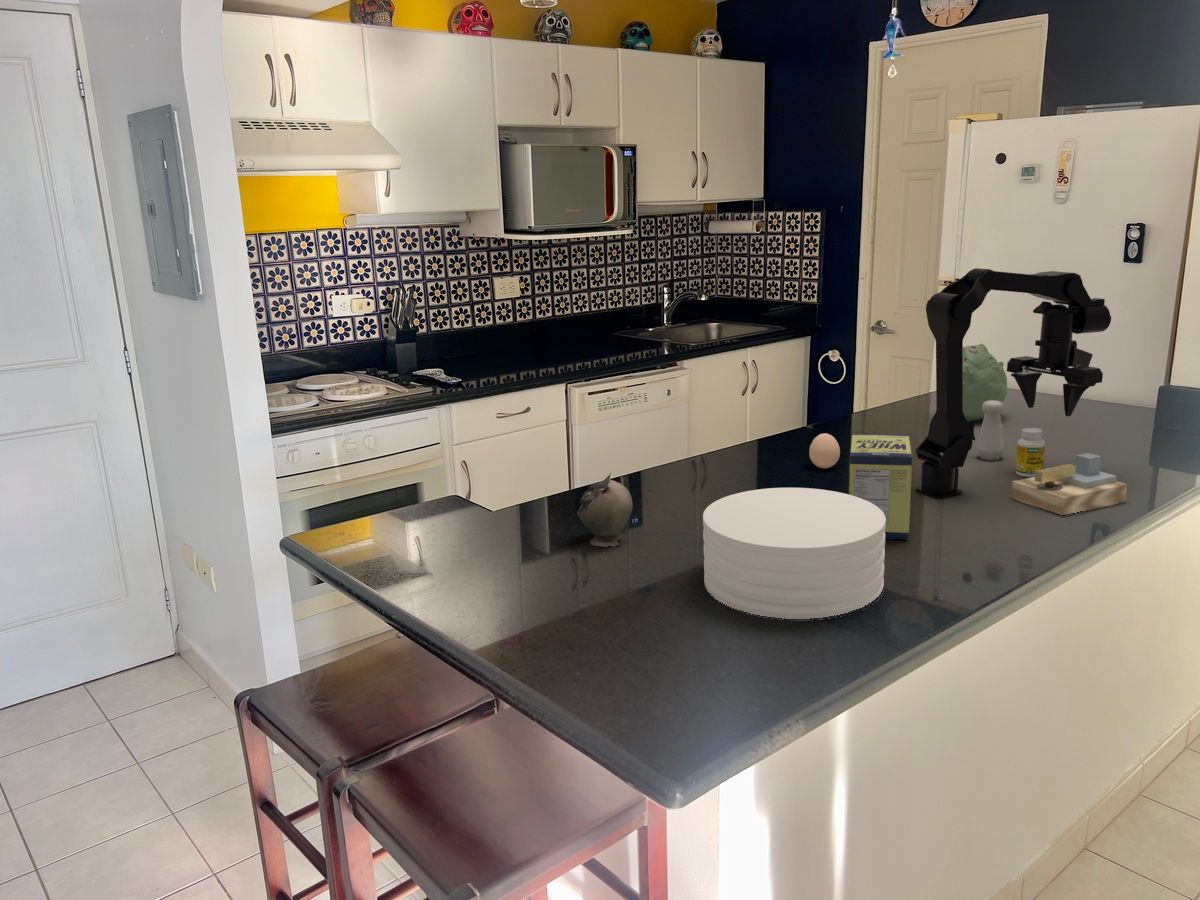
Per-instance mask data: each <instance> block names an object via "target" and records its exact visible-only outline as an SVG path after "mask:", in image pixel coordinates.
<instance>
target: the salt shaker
mask: <svg viewBox="0 0 1200 900" xmlns="http://www.w3.org/2000/svg"><path fill="white" fill-rule="evenodd" d="M982 410H983V412H985V415H984V418H983V419H982V424H981V428H980V433H979V436H978V439H977V444H976V451H977V454H978V456H979V457H980V459H981V460H983V459H984V461H989V462H990V460H991V461H998V460H999V459H1000V458H1001V457H1002V455H1003V453H1004V451H1005V441H1004V440H1005V439H1004V432H1003V424H1002V415H1001V413H1002V412H1003V411H1004V403H1003V402H1000V401H994V400H991V401H986V402H984V403H983V406H982Z"/></svg>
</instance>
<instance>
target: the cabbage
mask: <svg viewBox="0 0 1200 900" xmlns="http://www.w3.org/2000/svg"><path fill="white" fill-rule="evenodd" d="M1004 364H1005V363H1004V362H1003V361H997V358H996V357H995V356H993V354H992V353H990V352H989V350H988V348H987V346H985V344H983V343H980V344H974V345H967V346H963V413H964V415H965V417H966V418H969V419H972V420H974V422H976V421H980V420H983V419H984V415H985V412H983V410H982V406H983V403H984V402H986V401H991V400H994V401H1000V402H1002V403H1003V402H1004V401H1005V399H1006V397H1007V394H1008V392H1009V391H1008V390H1007V388H1008V380H1007V379H1008V378H1007V373H1006V371H1005V369H1004Z"/></svg>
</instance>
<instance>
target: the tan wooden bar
mask: <svg viewBox="0 0 1200 900" xmlns="http://www.w3.org/2000/svg"><path fill="white" fill-rule="evenodd" d="M1075 472H1076V466H1075V464H1071V463H1068V464H1062V465H1057V466H1053V467H1047V468H1044V469H1042V470H1037V471H1035V481H1037V482H1040V483H1044V482H1045V486H1047V487H1054V482H1055V480H1058V479H1063V478H1068V477H1073V476H1075Z"/></svg>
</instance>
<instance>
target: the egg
mask: <svg viewBox="0 0 1200 900" xmlns="http://www.w3.org/2000/svg"><path fill="white" fill-rule="evenodd" d="M840 455H841V449H840V445H839V442H838V441H837V439H836V438H835V437H834V436H833V435H831V434H829V433H827V432H826V433H820V434H818V435H817V436H816V437H814V438H813V440H812V442H811V444H810V445H809V459H810V460H811V463H813V464H814V465H815V466H816V467H817V468H820V469H829V468H831V467H834V465H836V463H837V462H838V461H839V459H840Z"/></svg>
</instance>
